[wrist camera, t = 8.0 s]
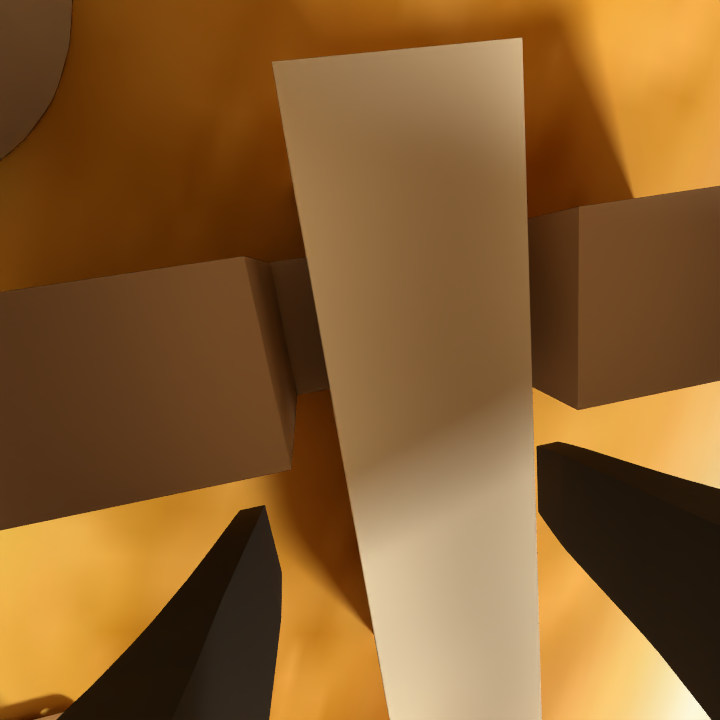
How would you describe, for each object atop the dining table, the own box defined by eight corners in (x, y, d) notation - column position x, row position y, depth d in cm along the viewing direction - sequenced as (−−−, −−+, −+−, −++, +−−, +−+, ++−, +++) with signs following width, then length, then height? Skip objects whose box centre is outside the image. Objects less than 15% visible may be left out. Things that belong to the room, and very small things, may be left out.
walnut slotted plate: (62, 408, 10) (-244, 580, 5) (22, 303, 10) (-406, 351, 4) (634, 305, 12) (931, 336, 6) (639, 210, 11) (981, 147, 6)
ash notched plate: (373, 635, 14) (421, 892, 8) (292, 184, 10) (271, 62, 4) (448, 616, 14) (545, 851, 8) (399, 170, 10) (521, 37, 4)
